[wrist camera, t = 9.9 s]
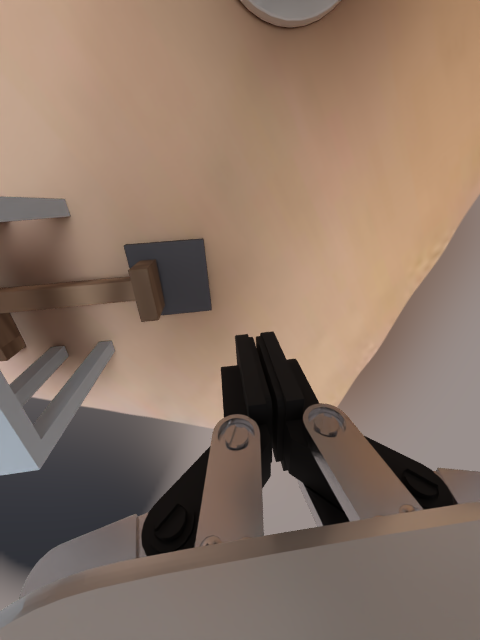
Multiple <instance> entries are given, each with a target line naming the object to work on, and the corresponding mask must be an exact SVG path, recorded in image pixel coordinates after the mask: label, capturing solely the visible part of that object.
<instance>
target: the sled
mask: <svg viewBox="0 0 480 640" xmlns="http://www.w3.org/2000/svg"><path fill="white" fill-rule="evenodd" d="M128 272H129V276H130V277H122V278H111V279H100V280H88V281H77V282H65V283H54V284H42V285H31V286H20V287H8V288H0V361H8V360H9V359H10V358H11V357H13V356H14V355H15V354H17V353H18V352H19V351H20V350H22V349H23V348H24V347H26V345H25V343H24V341H23V339H22V337H21V335H20V333H19V331H18V329H17V327H16V325H15V323H14V321H13V319H12V317H11V315H10V312H21V311H31V310H42V309H52V308H63V307H73V306H84V305H94V304H105V303H115V302H126V301H136V303H137V307H138V310H139V314H140V318H141V322H145V321H155V320H159V318H160V315H161V313H162V311H163V308H164V306H165V302H164V297H163V292H162V288H161V283H160V278H159V273H158V268H157V263H156V259H155V260H143V261H139V262H138V263H136V264H135V265H134V266H133V267H131V268H130V269H129V270H128Z"/></svg>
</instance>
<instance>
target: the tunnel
mask: <svg viewBox="0 0 480 640" xmlns="http://www.w3.org/2000/svg"><path fill="white" fill-rule="evenodd" d="M68 216H70V213H69V210H68V207H67V204H66V201H65V199H50V198H24V197H0V222H8V221H20V220H32V219H44V218H56V217H68ZM114 352H115V349H114V346H113V343H112V341H103V342H98V344H97V345H96V346H95V347H94V349H93V350H92V351H91V352H90V354H89V355H88V356H87V357H86V359H85V360H84V361H83V363H82V364H81V365H80V366H79V368H78V369H77V370H76V371H75V373H74V374H73V375H72V376H71V378H70V379H69V380H68V381H67V383H66V384H65V385H64V386H63V388H62V389H61V390H60V391H59V393H58V394H57V395H56V396H55V398H54V399H53V400H52V401H51V403H50V404H49V405H48V406H47V408H46V409H45V410H44V411H43V413H42V414H41V416H40V417H39V418H38V419H37V421H36V422H35V423H34V424H33V425H32V423H31V421H30V420H29V418H28V416H27V415H26V413H25V411H24V410H23V408H22V406H23V405H24V404H25V403H26V402H27V401H28V400H29V399H30V398H31V397H32V396H33V394H34V393H35V392H36V391H37V390H38V389H39V388H40V387H41V386H42V385H43V384H44V383H45V381H46V380H47V379H48V378H49V377H50V376H51V375H52V374H53V373H54V372H55V371H56V370H57V368H58V367H59V366H60V365H61V364H62V363H63V362H64V361H65V360H66V359H67V358H68V356H69V355H68V353H67V351H66V349H65V346H57V347H51V348H50V349H48V350H47V351H46V352H45V353H44V354H43V355H42V356H41V357H40V358H39V359H37V360H36V361H35V362H34V363H33V364H32V365H31V366H30V367H29V368H28V369H26V370H25V371H24V372H23V373H22V374H21V375H20V376H19V377H18V378H17V379H15V380H14V381H13V382H12V383H11V384H10V385H9V384H8V383H7V381H6V379H5V377H4V376H3V374H2V372H1V371H0V475H6V474H13V473H20V472H27V471H33V470H40V468H41V467H42V465H43V463H44V462H45V460H46V459H47V457H48V456H49V454H50V452H51V451H52V449H53V448H54V446H55V444H56V443H57V441H58V440H59V438H60V437H61V435H62V434H63V432H64V430H65V429H66V427H67V426H68V424H69V423H70V421H71V419H72V418H73V416H74V415H75V413H76V412H77V410H78V408H79V407H80V405H81V404H82V402H83V401H84V399H85V397H86V396H87V394H88V393H89V391H90V390H91V388H92V386H93V385H94V383H95V382H96V380H97V379H98V377H99V375H100V374H101V372H102V371H103V369H104V368H105V366H106V364H107V363H108V361H109V360H110V358H111V357H112V355H113V353H114Z"/></svg>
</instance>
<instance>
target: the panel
mask: <svg viewBox="0 0 480 640" xmlns="http://www.w3.org/2000/svg"><path fill="white" fill-rule="evenodd" d="M124 249H125V253H126V256H127V260H128V264H129V268H131V267H133V266H134V265H135V264H136V263H138V262H139V261H143V260H155V259H156V263H157V268H158V273H159V278H160V283H161V288H162V292H163V297H164V302H165V306H164V308H163V311H162V313H161V315H169V314H179V313H189V312H199V311H209V310H212V308H211V299H210V291H209V282H208V274H207V266H206V257H205V249H204V240H203V239H191V240H178V241H165V242H152V243H139V244H126V245H124Z"/></svg>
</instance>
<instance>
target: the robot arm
mask: <svg viewBox="0 0 480 640" xmlns="http://www.w3.org/2000/svg"><path fill="white" fill-rule="evenodd" d="M240 1H241V2H242V3H243V4H244V5H245V6H246V8H247V9H248V10H249V11H251V12H252V13H254V14H255V15H256V16H258V17H259V18H260V19H262V20H264V21H266V22H269V23H271V24H273V25H276V26H282V27H290V28H292V27H299V26H305V25H308V24H310V23H312V22H315V21H317V20H319V19H321V18H322V17H323V16H325V15H326V14H327V13H329V12H330V11H331V10H333V9H334V8H335V6H336V5H337V4H338V3H339V2H340V1H341V0H240ZM235 341H236V354H237V365H236V366H227V367H221V377H222V393H223V408H224V418H223V419H222V420H220V421H219V422H218V423H217V425H216V426H215V428H214V431H213V434H212V441H211V446H210V447H209V448H208V449H207V450H206V451H205V453H203V454H202V455H201V457H200V458H199V459H198V460H197V461H196V462H195V463H194V464H193V465H192V466H191V467H190V468H189V469H188V470H187V471H186V473H184V474H183V475H182V476H181V478H180V479H179V480H178V481H177V482H176V483H175V484H174V485H173V486H172V487H171V488H170V489H169V490H168V491H167V492H166V493H165V494H164V495H163V496H162V497H161V499H160V500H159V501H158V502H157V503H156V504H155V505H154V506H153V508H152V509H151V510H150V511H149V512H148V513H146V514H144V515H141V516H139V517H138V516H137V514H134V515H132V516H129V517H127V518H125V519H122V520H120V521H117V522H114V523H112V524H110V525H107V526H105V527H102V528H100V529H97V530H95V531H92V532H90V533H87V534H85V535H83V536H80V537H78V538H75V539H73V540H70V541H68V542H65V543H63V544H61V545H59V546H57V547H56V548H54V549H52V550H50V551H49V552H48V553H47V554H46V555H45V556H44V557H42V558H41V559H40V560H39V561H38V562H37V564H36V565H35V567H34V568H33V570H32V571H31V572H30V573H29V575H28V577H27V579H26V581H25V584H24V586H23V588H22V591H21V594H20V597H19V600H17V601H15V602H14V603H12V604H11V605H9V606H7V607H6V608H4V609H3V610H1V611H0V640H480V472H478V471H467V470H455V469H445V468H437V470H436V471H432V470H431V469H429V468H427V467H426V466H424V465H422V464H421V463H418V462H416V461H414V460H412V459H410V458H408V457H406V456H404V455H402V454H400V453H398V452H396V451H394V450H392V449H390V448H388V447H386V446H384V445H382V444H380V443H378V442H376V441H374V440H372V439H370V438H368V437H365V436H363V435H362V433H361V432H360V431H359V430H358V428H357V427H356V426H355V425H354V424H353V423H352V421H351V420H350V419H349V417H348V416H347V415H346V414H345V413H344V412H343V411H342V410H340V409H338V408H337V407H335V406H332V405H329V404H322V403H321V404H319V402H318V400H317V398H316V396H315V394H314V392H313V390H312V388H311V386H310V384H309V383H308V381H307V379H306V377H305V375H304V373H303V371H302V369H301V367H300V365H299V363H298V362H297V360H296V359H289V360H286V358H285V355H284V353H283V351H282V349H281V347H280V345H279V342H278V340H277V338H276V336H275V334H274V332H264V333H261V334H260V336H257V337H256V346H255V342H254V339H253V337H248V334H245V335H235ZM272 449H273V453H274V457H275V460H276V462H279V461H281V464H282V467H283V471H286V470H288V471H289V473H290V474H291V475H292V476H294V477H296V478H297V479H298V484H299V487H300V489H301V491H302V494H303V496H304V498H305V500H306V503H307V505H308V507H309V509H310V511H311V514H312V516H313V518H314V520H315V522H316V525H317V527H315V528H309V529H303V530H297V531H291V532H284V533H278V534H273V535H267V536H264V532H263V502H262V488H263V487H264V485H265V484H266V482H267V481H268V479H269V478H270V475H271V474H270V473H271V462H272Z"/></svg>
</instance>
